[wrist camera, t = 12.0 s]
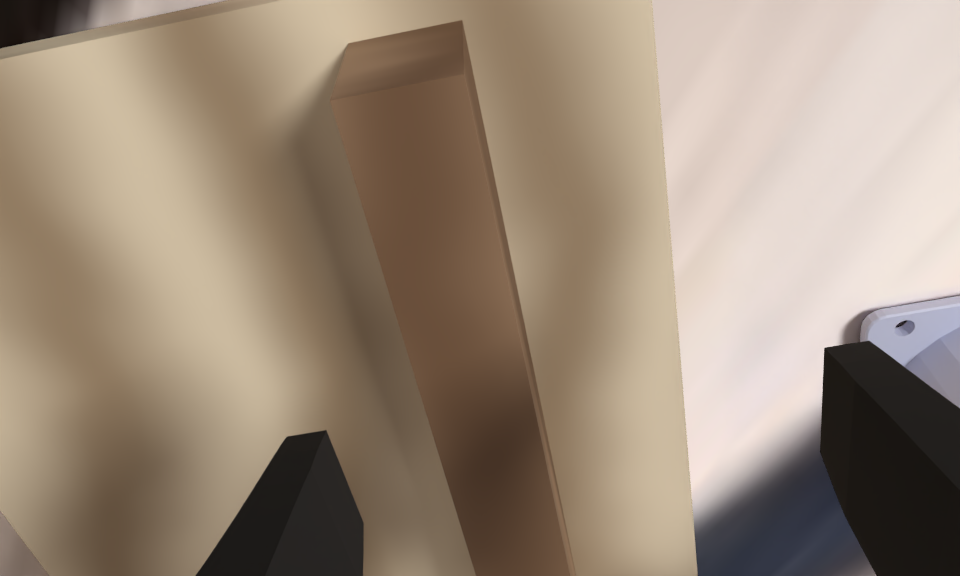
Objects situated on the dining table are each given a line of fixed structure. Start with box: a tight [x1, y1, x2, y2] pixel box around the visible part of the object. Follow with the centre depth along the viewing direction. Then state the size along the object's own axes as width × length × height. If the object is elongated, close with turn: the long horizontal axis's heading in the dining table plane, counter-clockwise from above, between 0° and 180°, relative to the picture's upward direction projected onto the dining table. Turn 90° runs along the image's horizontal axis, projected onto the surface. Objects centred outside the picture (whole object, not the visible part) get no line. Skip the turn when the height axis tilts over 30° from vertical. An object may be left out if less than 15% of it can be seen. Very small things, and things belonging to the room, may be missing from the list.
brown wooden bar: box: [330, 20, 576, 576], centre depth 21 cm, size 2×18×3 cm, turn 11°
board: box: [0, 0, 698, 576], centre depth 26 cm, size 20×32×1 cm, turn 11°
